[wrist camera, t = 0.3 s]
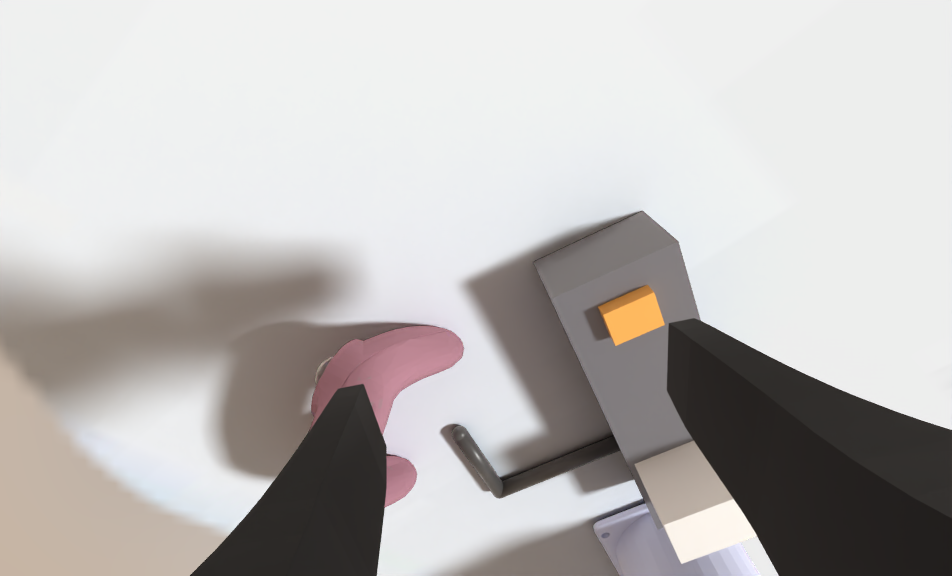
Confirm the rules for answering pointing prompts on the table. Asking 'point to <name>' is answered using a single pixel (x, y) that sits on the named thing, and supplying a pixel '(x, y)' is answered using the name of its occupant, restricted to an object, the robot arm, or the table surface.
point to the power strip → (632, 380)
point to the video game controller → (387, 380)
